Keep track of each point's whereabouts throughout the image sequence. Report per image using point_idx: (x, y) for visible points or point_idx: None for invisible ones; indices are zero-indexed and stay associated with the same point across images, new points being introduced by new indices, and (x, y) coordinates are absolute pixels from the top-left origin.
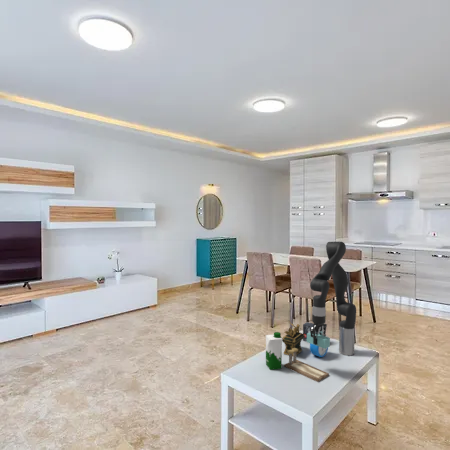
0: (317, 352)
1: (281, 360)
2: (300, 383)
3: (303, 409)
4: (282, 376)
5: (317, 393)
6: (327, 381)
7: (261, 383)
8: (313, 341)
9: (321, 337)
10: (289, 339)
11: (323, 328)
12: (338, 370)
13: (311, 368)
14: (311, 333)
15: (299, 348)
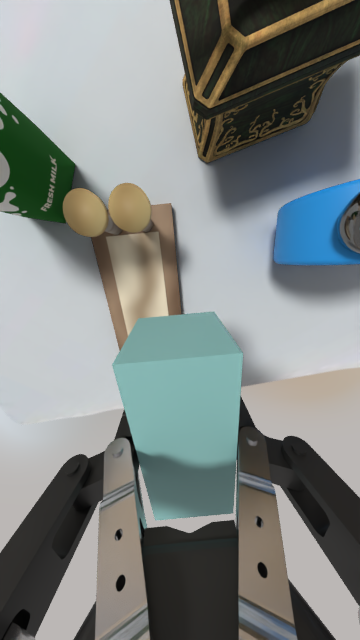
0: (274, 260)
1: (45, 207)
2: (71, 338)
3: (9, 408)
4: (37, 273)
5: (82, 389)
6: None
7: None
8: (124, 412)
9: (173, 490)
10: (198, 4)
11: (343, 558)
12: None
13: (162, 307)
14: (23, 541)
15: (290, 110)
